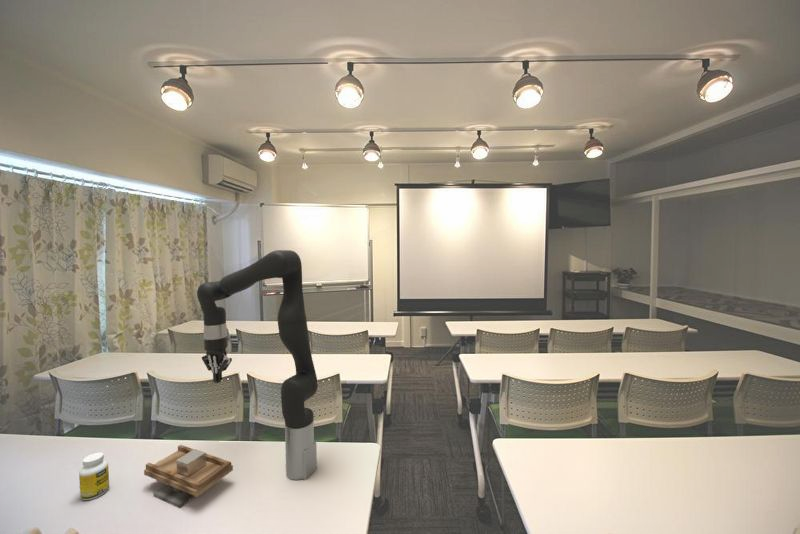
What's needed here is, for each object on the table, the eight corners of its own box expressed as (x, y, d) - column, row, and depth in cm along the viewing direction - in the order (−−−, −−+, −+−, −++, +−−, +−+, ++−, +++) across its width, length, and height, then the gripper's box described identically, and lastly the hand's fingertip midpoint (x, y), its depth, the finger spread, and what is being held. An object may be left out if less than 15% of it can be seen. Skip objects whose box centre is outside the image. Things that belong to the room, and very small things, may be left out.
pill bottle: (91, 503, 96) (89, 465, 95) (74, 499, 97) (72, 462, 96) (115, 487, 102) (113, 451, 101) (98, 484, 103) (96, 449, 103)
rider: (206, 464, 104) (205, 452, 103) (187, 476, 98) (187, 464, 98) (195, 460, 105) (195, 448, 105) (176, 472, 100) (176, 460, 100)
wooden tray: (235, 481, 105) (235, 458, 104) (194, 514, 92) (193, 488, 91) (185, 462, 114) (184, 441, 113) (141, 490, 101) (140, 466, 100)
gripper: (237, 334, 119) (239, 380, 120) (211, 331, 124) (213, 376, 125) (220, 340, 112) (222, 388, 113) (193, 337, 117) (195, 383, 118)
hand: (217, 382), depth 119 cm, fingers closed
